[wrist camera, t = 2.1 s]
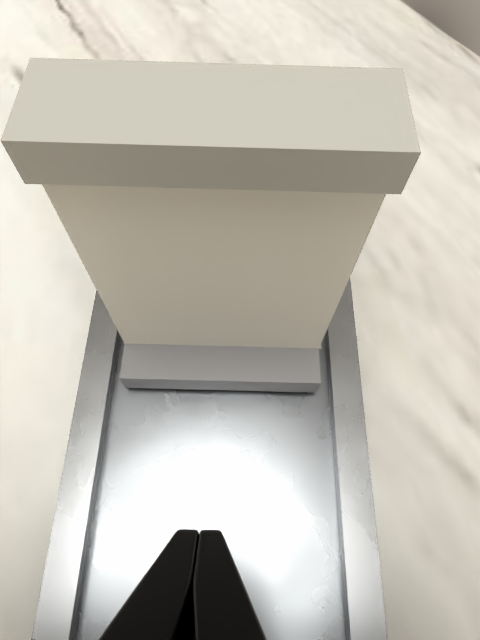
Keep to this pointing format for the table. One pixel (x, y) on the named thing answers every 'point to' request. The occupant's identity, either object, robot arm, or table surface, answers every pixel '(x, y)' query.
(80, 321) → the table surface
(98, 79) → the fader paddle
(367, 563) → the tray
